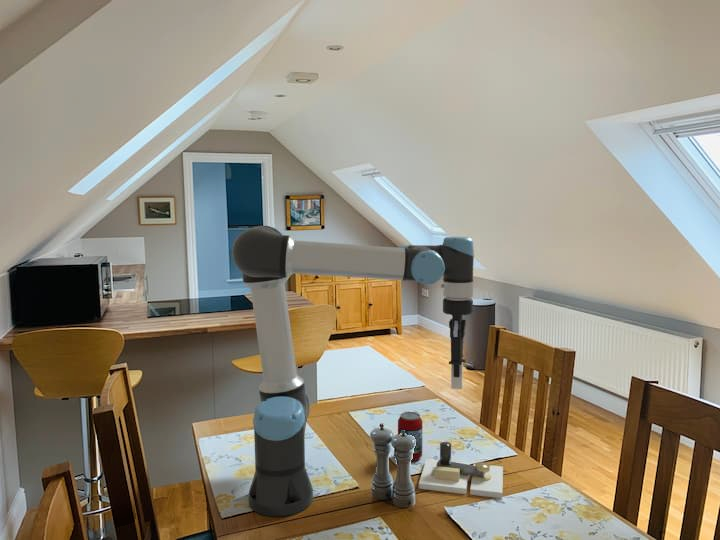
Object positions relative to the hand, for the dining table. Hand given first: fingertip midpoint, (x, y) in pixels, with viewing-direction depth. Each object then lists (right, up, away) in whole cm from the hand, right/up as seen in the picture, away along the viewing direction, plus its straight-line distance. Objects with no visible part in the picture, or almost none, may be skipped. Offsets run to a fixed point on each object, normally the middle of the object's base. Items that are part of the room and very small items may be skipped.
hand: (456, 387), depth 149 cm
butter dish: (-3, -23, -2) cm, 23 cm away
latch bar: (+1, -21, -2) cm, 21 cm away
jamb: (+7, -23, -4) cm, 24 cm away
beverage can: (-11, -22, +11) cm, 27 cm away
